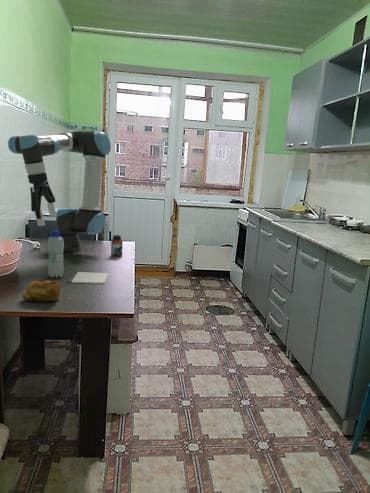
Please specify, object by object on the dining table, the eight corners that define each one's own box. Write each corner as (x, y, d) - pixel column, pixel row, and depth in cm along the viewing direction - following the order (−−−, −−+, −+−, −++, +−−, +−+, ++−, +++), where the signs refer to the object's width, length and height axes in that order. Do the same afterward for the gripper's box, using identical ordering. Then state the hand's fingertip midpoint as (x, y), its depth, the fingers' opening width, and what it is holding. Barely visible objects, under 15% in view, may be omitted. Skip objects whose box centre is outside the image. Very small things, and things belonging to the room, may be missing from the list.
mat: (74, 273, 173) (74, 271, 172) (108, 274, 174) (108, 272, 174) (67, 282, 159) (67, 281, 159) (104, 283, 160) (104, 282, 160)
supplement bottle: (112, 254, 212) (112, 233, 210) (123, 254, 212) (123, 234, 210) (109, 256, 206) (110, 235, 204) (121, 257, 206) (121, 236, 204)
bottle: (57, 279, 162) (57, 232, 158) (44, 277, 164) (43, 230, 160) (67, 275, 168) (67, 230, 164) (54, 273, 170) (54, 228, 166)
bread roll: (20, 304, 133) (19, 282, 131) (25, 295, 142) (25, 274, 141) (59, 304, 136) (59, 282, 134) (62, 294, 145) (62, 274, 143)
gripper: (39, 169, 176) (50, 214, 183) (14, 179, 152) (27, 230, 159) (55, 167, 175) (65, 213, 182) (32, 177, 152) (45, 228, 159)
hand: (47, 221), depth 171 cm, fingers open, 13 cm apart
